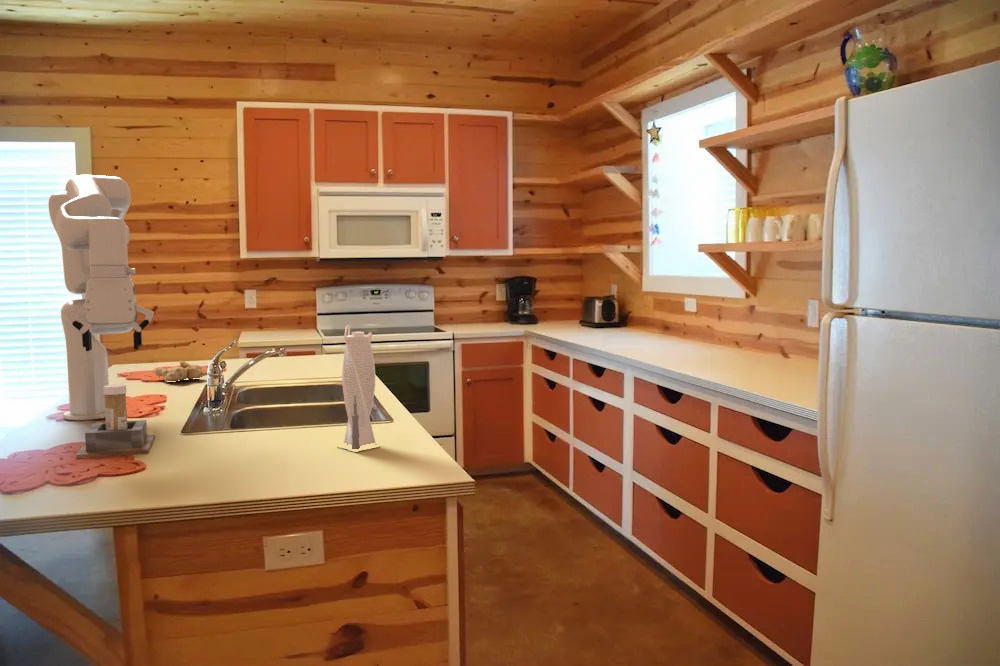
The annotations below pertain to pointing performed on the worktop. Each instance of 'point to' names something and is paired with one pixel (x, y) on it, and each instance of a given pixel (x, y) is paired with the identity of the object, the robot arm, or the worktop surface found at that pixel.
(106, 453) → the socket
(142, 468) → the worktop surface
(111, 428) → the sprinkles bottle
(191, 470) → the worktop surface
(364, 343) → the skyscraper
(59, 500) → the worktop surface
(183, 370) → the ginger root
